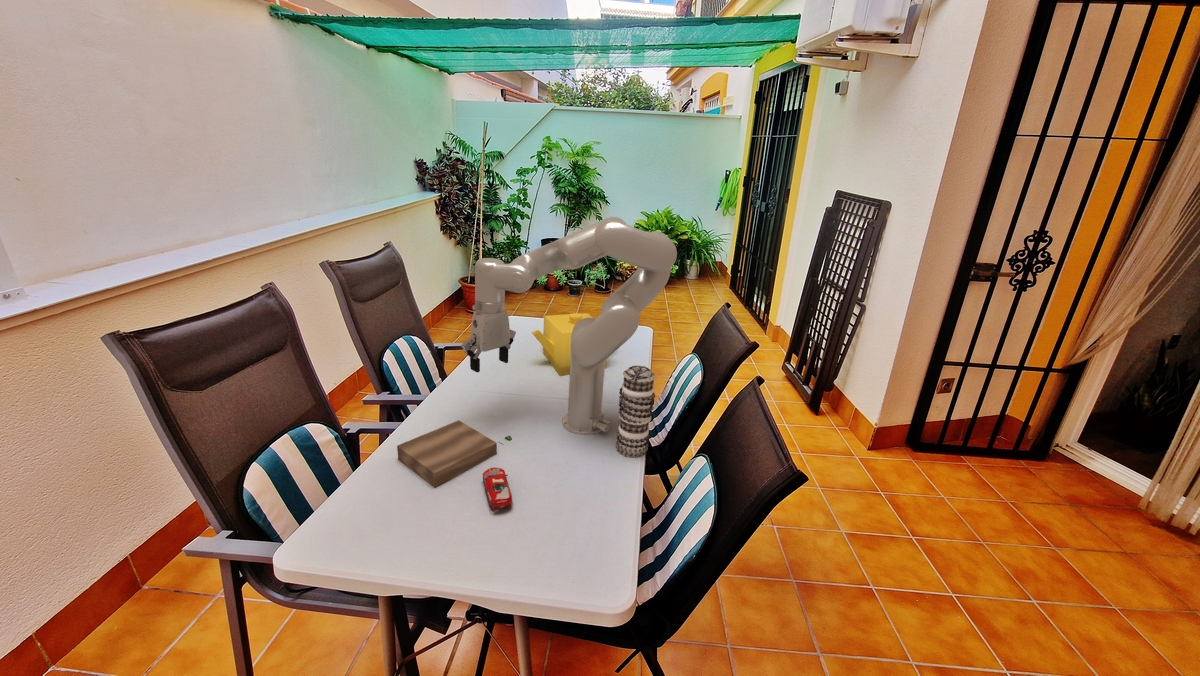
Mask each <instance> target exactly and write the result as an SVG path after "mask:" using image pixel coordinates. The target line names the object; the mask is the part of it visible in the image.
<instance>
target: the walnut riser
mask: <svg viewBox="0 0 1200 676" xmlns="http://www.w3.org/2000/svg"><path fill="white" fill-rule="evenodd" d="M497 444H498V443H497V442H496V441H494V440H492V439H491V438H489V437H488V436H486V435H485V434H483V433H482V432H480V431H478V430H477V429H474V428H473V427H471V426H469V425H468V424H466V423H465V422H463V421H461V420H460V419H458V420H456V421H453V422H451V423H448V424H446V425H444V426H441V427H439V428H436V429H434V430H432V431H428V432H427V433H424V434H423V435H420V436H418V437H415V438H412V439H410V440H408V441H405V442H403V443H401V444H398V445H396V449H397V459H398V461H399V462H400V463H402V464H403V465H405V467H407V468H409V469H410V470H411V471H412V472H414V473H415V474H417V475H418V476H419V477H420V478H422V480H424V481H425V482H427V483H428V484H429V485H431V486H432V487H433V488H435V489H436V488H438V487H440V486H442V485H444V484H445V483H448V482H450V481H451V480H454V479H456V478H457V477H459V476H460V475H462V474H464V473H466V472H467V471H469V470H471V469H473V468H474V467H476V466H478V465H480V464H482V463H483V462H484V461H487V460H488V459H491V457H494V456H496V455H497V453H498V447H497V446H498V445H497Z"/></svg>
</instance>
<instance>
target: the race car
mask: <svg viewBox="0 0 1200 676" xmlns="http://www.w3.org/2000/svg"><path fill="white" fill-rule="evenodd" d="M482 481H483V486H484V489H485V493H486V497H487V500H488V501H487V502H488V506H489V507H490V508H491V509H492V510H495V511H496V510H500V509H501V510H502V509H506V508H509V507H511V506H512V505H513V494H512V491H511V488H510V484H509V481H508V474H507V473H506V471H505V470H504V469H503V468H500V467H490V468H487V469H486V470H485V471H483V473H482Z"/></svg>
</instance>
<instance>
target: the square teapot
mask: <svg viewBox="0 0 1200 676" xmlns="http://www.w3.org/2000/svg"><path fill="white" fill-rule="evenodd" d="M584 318H594V317H592V316H591V315H590V314H589V313H587V312H584V313H583V312H582V313H578V312H577V313H576V312H573V313H572V312H571V313H567V314H552V315H544V316H543V333H542V331H541V330H540V329H536V330H534V331H531V334H532V335H533V337H535V338H536V340H537V341H538V342H539V344H540V345H541V346H542V354H543V357H545V359H546V360H547V361H548V363H549V364H550V365H551V366H552V368H553V369H554V370H555V372H556V373H557V374H558V376H559V377H563V376H570V361H571V350H570V345H571V334H572V330H573V328H574V326H575V324H576V323H577V322H578V321H580V320H581V319H584ZM606 369H607V359H606V360H605V370H606Z"/></svg>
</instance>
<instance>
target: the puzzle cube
mask: <svg viewBox="0 0 1200 676" xmlns="http://www.w3.org/2000/svg"><path fill="white" fill-rule="evenodd" d="M504 440H506V441H508V442H511V441H512V440H513V437H512V436H510V435H507V436H505V437H504ZM498 443H499V444H501V445H503V446H504V444H503V443H502V442H500V441H498Z"/></svg>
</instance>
